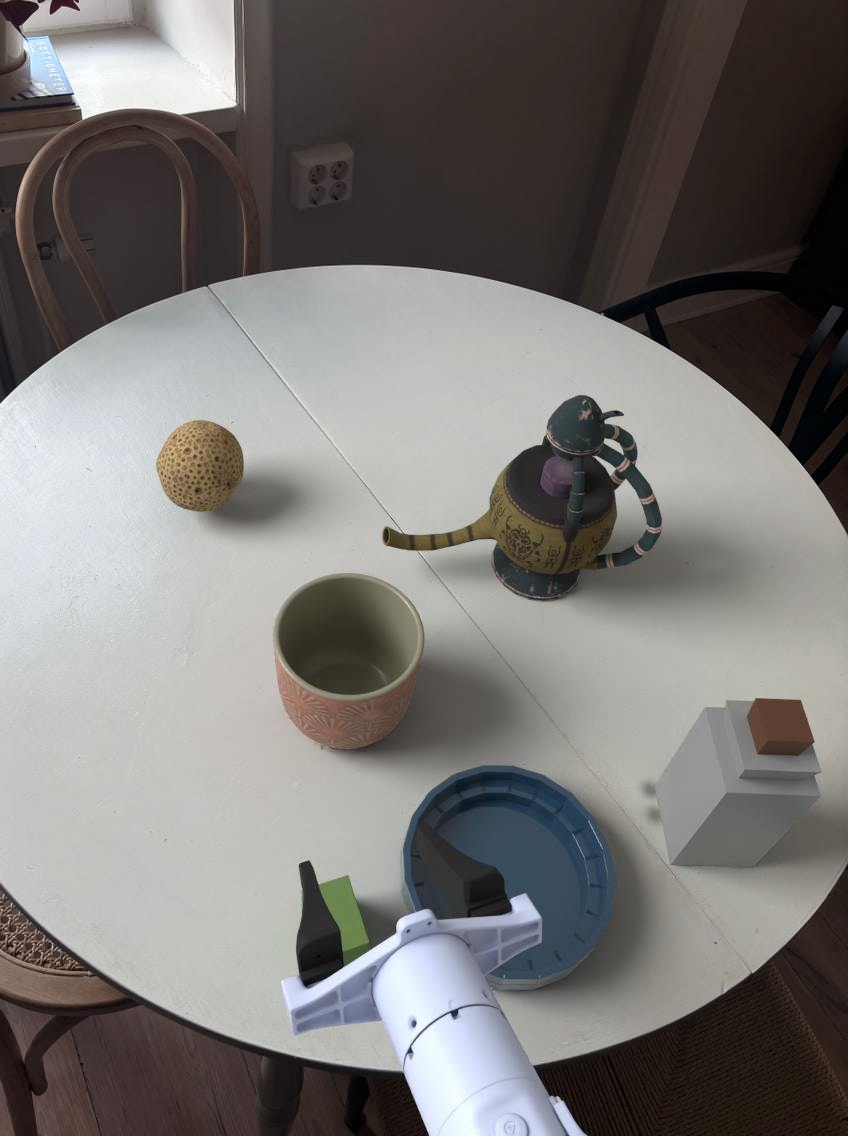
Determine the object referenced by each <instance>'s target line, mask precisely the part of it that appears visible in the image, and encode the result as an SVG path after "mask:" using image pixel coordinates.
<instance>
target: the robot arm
mask: <svg viewBox="0 0 848 1136" xmlns="http://www.w3.org/2000/svg"><path fill="white" fill-rule="evenodd" d="M416 827H417V843H418V851H419V853H420V855H421V858H422V860H423V862H424V864H425V866H426V868H427V869H428V871H429V873H430V874H431V876H432V878H433V879H434V881H435V883H436V884H437V886H438V888H439V889H440V891H441V893H442V895H443V897H444V899H445V901H446V903H447V905H448V907H449V910H450V912H451V914H452V917H453V919H446V920H437V919H436V917H435V915H434V914H433V912H432V910H430V909H424V910H421V911H418V912H416V913H413V914H410V915H409V914H407V915H404V916H402V917H400V918H399V920H398V921H397V922H396V932H395V933H394V934H393V935H391V936H390V937H388V938H387V939H385V940H384V941H382V942H381V943H378V945H376V946H374V947H373V948H371V949H370V950H368V952H367V953H365V954H364V955H362V956H361V957H359V958H357V959H356V960H354V961H353V962H351V963H350V964H348V965H347V966H345V967H344V961H343V949H342V940H341V931H340V929H339V926H338V924H337V923H336V921H335V920H334V918H333V916H332V914H331V913H330V911H329V909H328V907H327V905H326V903H325V901H324V898H323V896H322V894H321V891H320V888H319V884H320V883H319V881H318V878H317V875H316V871H315V868H314V865H313V864H312V862H311V860H310V859H308V860H305V861H302V862H299V864H298V869H299V870H298V871H299V872H298V873H299V878H300V885H301V891H302V890H303V908H302V907H301V915H300V916H301V917H300V921H299V927H298V930H297V933H296V942H295V943H296V944H295V955H296V963H297V969H298V974H296V975H292V976H290V977H287V978H284V979H282V980H281V981H280V985H281V992H282V998H283V1005H284V1008H285V1011H286V1014H287V1018H288V1021H289V1025H290V1028H291V1031H292V1034H293V1036H295V1037H297V1036H299V1035H301V1034H305V1033H308V1032H310V1031H314V1030H319V1029H324V1028H330V1027H340V1026H346V1025H347V1026H348V1025H356V1024H365V1023H371V1022H372V1023H373V1022H382V1024H383V1026H384V1028H385V1031H386V1033H387V1036H388V1039H389V1041H390V1043H391V1045H392V1048H393V1050H394V1053H395V1056H396V1059H397V1060H398V1062H399V1065H400V1067H401V1070H402V1072H403V1074H404V1077H405V1080H406V1082H407V1085H408V1087H409V1089H410V1091H411V1095H412V1097H413V1100H414V1102H415V1104H416V1107H417V1109H418V1111H419V1114H420V1116H421V1119H422V1121H423V1124H424V1126H425V1128H426V1131H427V1133H428V1136H588V1135H587V1134H586V1133H585V1132H584V1131H583V1130H582V1129H581V1128H580V1126H579V1125H578V1123H577V1121H576V1120H575V1119H574V1117H573V1115H572V1113H571V1111H570V1110H569V1108H568V1106H567V1105H566V1103H565V1101H564V1100H562V1099H561V1097H560V1096H558V1095H557V1096H554V1095H549V1093H548V1091H547V1089H546V1088H545V1085H544V1084H543V1081H542V1079H540V1077H539V1075H538V1073H537V1071H536V1068H534V1066H533V1064H532V1061H531V1060H530V1058H529V1057H528V1054H527V1053H526V1050H525V1048H524V1046H523V1045H522V1043H521V1042H520V1040H519V1038H518V1036H517V1034H516V1032H515V1031H514V1028H513V1026H512V1024H511V1023H510V1021H509V1019H508V1018H507V1015H506V1014H505V1012H504V1011H503V1008H502V1006H501V1005H500V1003H499V1001H498V999H497V998H496V996H495V994H494V992H493V989H492V988H491V987H490V986H489V984H488V983H487V981H486V979H485V977H484V976H485V975H487V974H488V973H490V972H491V971H493V970H494V969H496V968H497V967H499V966H500V965H502V964H503V963H505V962H506V961H508V960H509V959H511V958H512V957H514V956H516V955H517V954H519V953H520V952H522V951H524V950H526V949H528V948H530V947H533V946H535V945H537V944H540V943H541V942H542V917H541V915H540V914H539V912H538V911H537V909H536V908H535V906H534V905H533V903H532V902H531V900H530V899H529V897H528V895H527V894H526V893H524V894H521V895H518V896H516V897H513V898H511V900H510V901H509V900H508V898H507V894H506V892H505V881H504V878H503V876H502V874H501V873H500V872H499V871H498V870H497V868H496V867H494V866H491V865H487V864H484V863H482V862H479V861H477V860H475V859H472V858H470V857H468V856H467V855H465V854H463V853H462V852H460V851H459V850H457V849H456V848H454V847H453V846H452V845H450V844H449V843H448V842H446V841H445V840H444V839H443V838H442V837H440V836H439V835H438V834H437V833H436V832H435V831H434V830H433V829H432V828H431V827H430V826H429V825H428V824H427V823H422V824H419V825H416Z"/></svg>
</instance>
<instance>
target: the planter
mask: <svg viewBox="0 0 848 1136" xmlns="http://www.w3.org/2000/svg"><path fill="white" fill-rule="evenodd" d="M422 620H423V619H422V618H421V616H420V613H419V611H418V610H417V608H416V606H415V604H414V603H413V602H412V601H411V599H410V598H409V597H408V596H406V594H404V593H403V591H401V590H400V589H399V588H397V587H396V586H394V585H392V584H391V583H389V582H387V581H385V580H383V579H381V578H378V577H376V576H372V575H368V574H363V573H355V572H339V573H332V574H331V573H330V574H327V575H322V576H320V577H316V578H314V579H312V580H310V581H308V582H306V583H305V584H302V586H300V587H298V588H297V589H296V590H295V591H293V592H292V593H291V594H290V595H289V596H288V597H287V599H286V600H285V601H284V602H283V604H281V607H280V608H279V610H278V612H277V614H276V617H275V620H274V624H273V627H272V629H273V630H272V644H273V652H274V664H275V671H276V672H275V673H276V678H277V685H278V691H279V695H280V698H281V702H282V706H283V709H284V710H285V712H286V714H287V716H288V718H289V719H290V721H291V722H292V723H293V725H294V727H296V729H297V730H298V731H300V732H301V734H303V735H304V736H305V737H307V738H308V739H310V740H311V741H313V742H315V743H317V744H320V745H322V746H325V747H328V748H332V749H338V750H352V749H353V750H354V749H359V748H363V747H366V746H367V747H368V746H369V745H372V744H375V743H377V742H378V741H380V740H382V739H383V738H385V737H386V736H388V735H389V734H390V733H391V732H392V731H393V730H394V729H395V728H396V727H397V725H398V724H399V723H400V721H401V720H402V718H403V717H404V716H405V713H406V711H407V709H408V707H409V705H410V702H411V699H412V696H413V693H414V691H415V687H416V682H417V680H418V675H419V671H420V665H421V661H422V657H423V654H424V648H425V641H426V639H425V638H426V637H425V629H424V623H423V621H422Z"/></svg>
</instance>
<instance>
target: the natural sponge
mask: <svg viewBox="0 0 848 1136" xmlns="http://www.w3.org/2000/svg"><path fill="white" fill-rule="evenodd" d="M155 468H156V472H157V475H158V479H159V482H160V485H161V488H162V490H163V492H164V494H165V496H166V497H167V498H168V499H169V500H170V501H171V502H172V503H173V504H174V505H176V506H177V507H180V508H182V509H184V510H188V511H191V512H199V513H207V512H212V511H214V510H217V509H218V508H220V507H222V506H223V505H224V504H225V503H226V502H227V501H228V500H229V499H230V498H231V497H232V495H234V493H235V492H236V490H237V489H238V488H239V487H240V485H241V483H242V480H243V479H244V478H243V477H244V472H245V471H244V470H245V460H244V453H243V448H242V446H241V444H240V442H239V440H238V438H237V437H236V436H235V435H234V433H232V432H231V431H230V430H229V429H227V428H226V427H224V426H223V425H220V424H218V423H216V422H213V421H211V420H203V419H197V420H191V421H187V422H185V423H183V424H181V425H180V426H178V427H176V428H175V429H174V430H173V431H172V432H171V433H170V435H169V436H168V437H167V438H166V440H165V442H164V444H163V445H162V448H161V450H160V452H159V453H158V456H157V458H156V461H155Z"/></svg>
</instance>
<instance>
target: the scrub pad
mask: <svg viewBox="0 0 848 1136" xmlns="http://www.w3.org/2000/svg"><path fill="white" fill-rule="evenodd" d="M318 884H319V888H320V891H321V894H322V896H323V898H324V901H325V903H326V905H327V907H328V909H329V911H330V913H331V914H332V916H333V918H334V920H335V921H336V923H337V924H338V926H339V929H340V931H341V940H342V949H343V961H344V967H345V966H347V965H348V964H350V963H351V962H353V961H354V960H356V959H357V958H359V957H361V956H362V955H364V954H365V953H367V952H368V951H369V948H370V940H369V936H368V932H367V930H366V927H365V923H364V920H363V917H362V914H361V911H360V908H359V904H358V901H357V899H356V896H355V895H356V894H355V892H354V889H353V886H352V882H351V879H350V875H349V874H346V875H343V876H341V877H340V876H339V877H337V878H334V879H330V880H328V881H325V882H322V883H318ZM302 908H303V890H302V889H301V909H302Z"/></svg>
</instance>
